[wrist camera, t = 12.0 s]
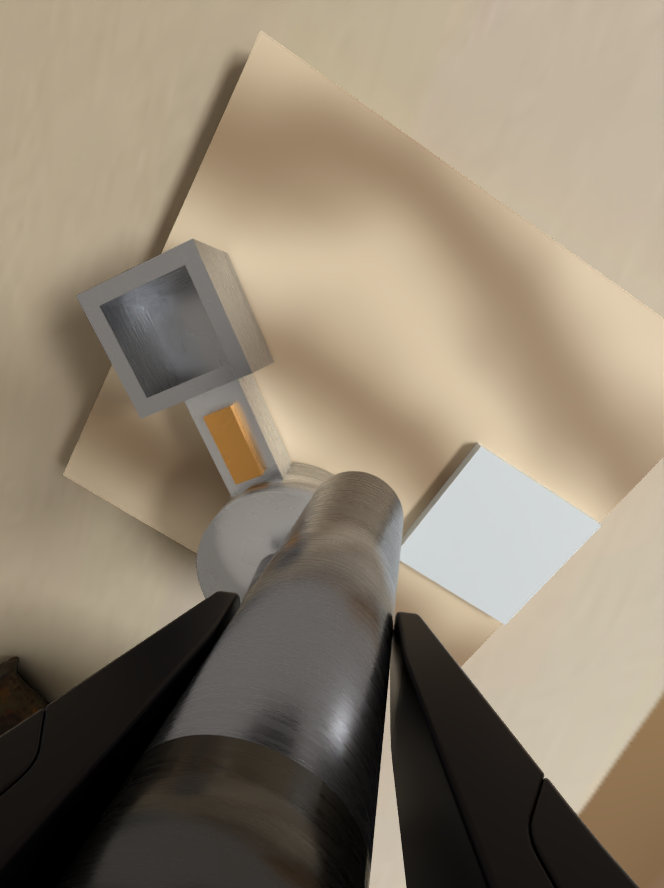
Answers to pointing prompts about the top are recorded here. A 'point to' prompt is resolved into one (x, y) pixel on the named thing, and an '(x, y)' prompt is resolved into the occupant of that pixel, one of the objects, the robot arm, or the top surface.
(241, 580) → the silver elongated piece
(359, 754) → the metal cylinder
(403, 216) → the board
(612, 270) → the top surface
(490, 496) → the coaster
